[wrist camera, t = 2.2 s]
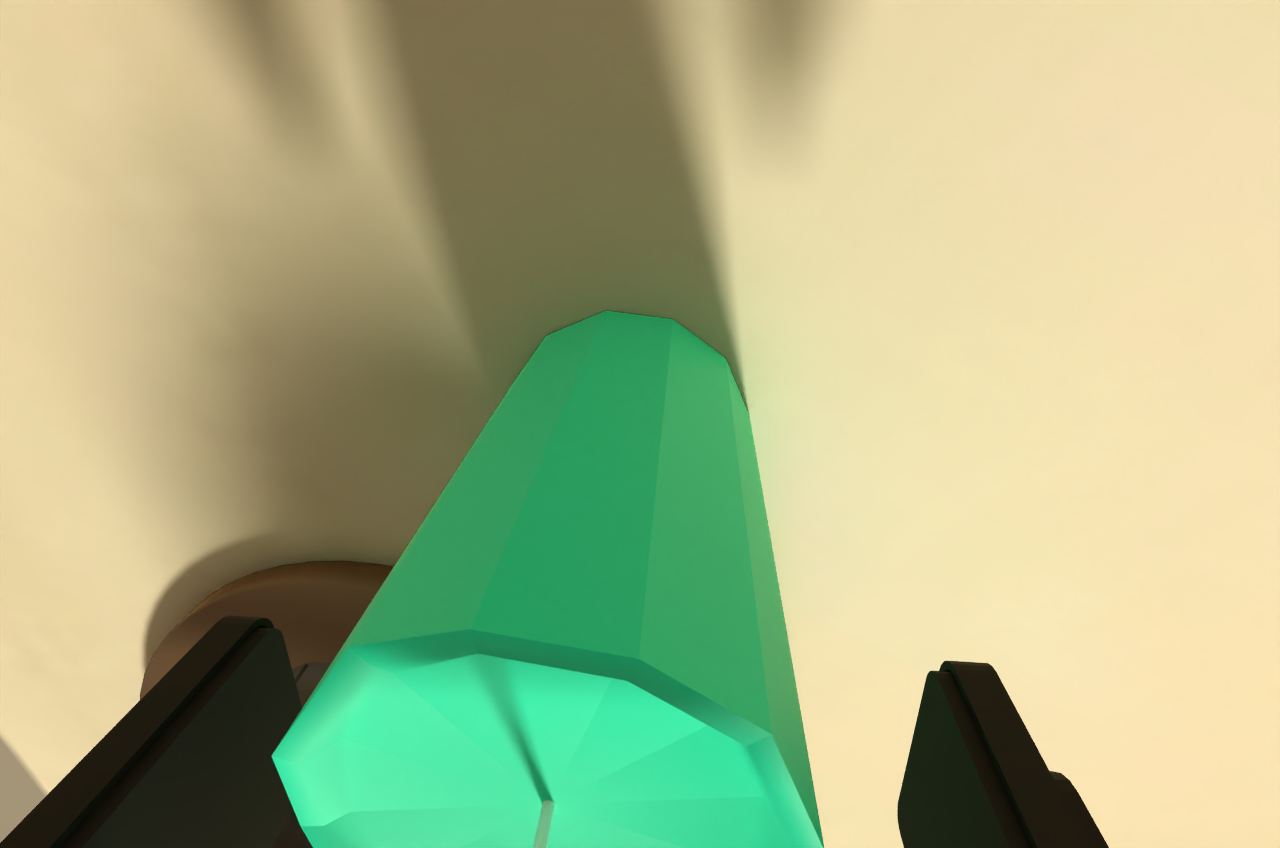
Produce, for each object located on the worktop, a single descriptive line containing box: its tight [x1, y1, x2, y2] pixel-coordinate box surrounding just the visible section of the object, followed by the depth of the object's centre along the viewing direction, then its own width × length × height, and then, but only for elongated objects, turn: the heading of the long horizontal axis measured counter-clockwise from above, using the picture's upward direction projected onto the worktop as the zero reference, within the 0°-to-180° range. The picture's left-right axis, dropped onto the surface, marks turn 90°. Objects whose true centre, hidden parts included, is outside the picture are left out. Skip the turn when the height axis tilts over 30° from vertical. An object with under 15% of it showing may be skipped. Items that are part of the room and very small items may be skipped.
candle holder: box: [140, 562, 393, 848], centre depth 21 cm, size 15×15×4 cm
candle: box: [272, 311, 824, 848], centre depth 11 cm, size 6×6×12 cm
